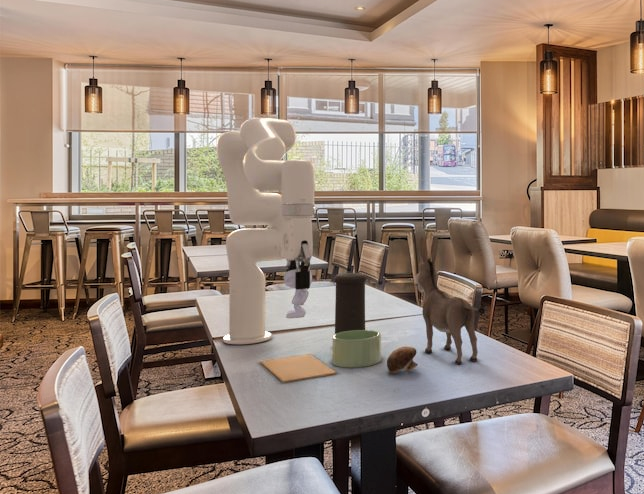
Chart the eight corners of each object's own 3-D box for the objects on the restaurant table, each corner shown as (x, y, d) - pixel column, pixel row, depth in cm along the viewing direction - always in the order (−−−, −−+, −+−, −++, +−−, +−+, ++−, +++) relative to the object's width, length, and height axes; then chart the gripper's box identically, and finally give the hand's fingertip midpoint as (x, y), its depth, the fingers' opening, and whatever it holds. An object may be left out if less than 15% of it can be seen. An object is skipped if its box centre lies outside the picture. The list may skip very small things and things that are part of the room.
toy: (429, 340, 176) (429, 234, 176) (499, 367, 148) (499, 241, 149) (403, 344, 171) (403, 235, 171) (471, 372, 143) (471, 242, 144)
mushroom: (430, 355, 147) (414, 334, 146) (416, 376, 139) (398, 355, 139) (407, 367, 150) (391, 347, 149) (392, 388, 143) (375, 367, 142)
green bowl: (326, 359, 155) (326, 333, 156) (369, 353, 162) (369, 327, 162) (342, 370, 146) (342, 342, 146) (388, 362, 152) (388, 336, 152)
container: (370, 343, 173) (370, 271, 173) (360, 351, 164) (360, 275, 164) (340, 342, 173) (340, 271, 174) (328, 350, 165) (328, 275, 165)
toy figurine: (284, 314, 151) (285, 264, 151) (312, 313, 152) (312, 264, 152) (281, 319, 144) (282, 267, 144) (310, 318, 145) (311, 266, 146)
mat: (260, 362, 153) (260, 361, 153) (309, 355, 159) (309, 354, 159) (283, 382, 136) (283, 380, 136) (336, 373, 143) (336, 372, 143)
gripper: (272, 211, 153) (272, 284, 153) (292, 212, 139) (292, 292, 139) (302, 211, 157) (302, 281, 157) (325, 212, 143) (325, 290, 143)
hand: (298, 286), depth 148 cm, fingers closed on toy figurine, 6 cm apart
